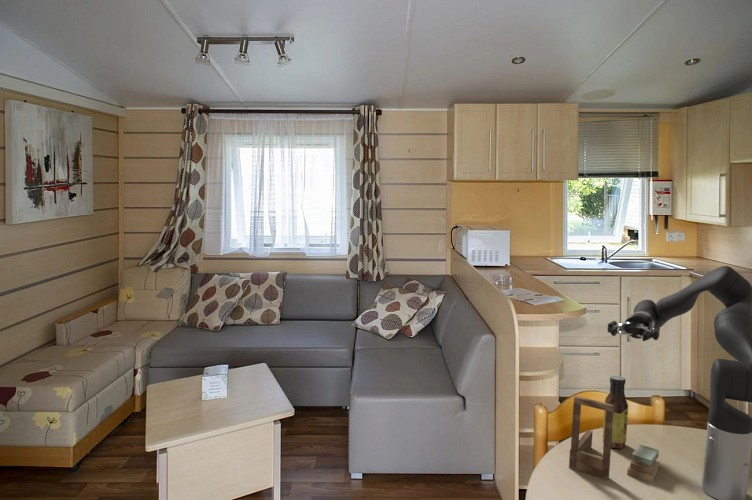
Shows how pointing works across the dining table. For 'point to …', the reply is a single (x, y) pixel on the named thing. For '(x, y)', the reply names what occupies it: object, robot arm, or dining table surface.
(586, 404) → the walnut rack
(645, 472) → the offcut stack
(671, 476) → the dining table surface
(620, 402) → the sauce bottle
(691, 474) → the dining table surface
